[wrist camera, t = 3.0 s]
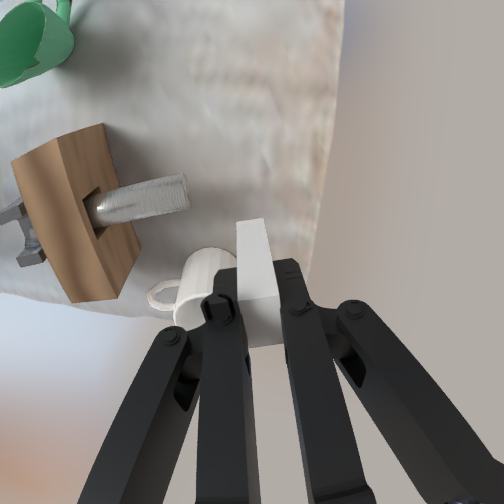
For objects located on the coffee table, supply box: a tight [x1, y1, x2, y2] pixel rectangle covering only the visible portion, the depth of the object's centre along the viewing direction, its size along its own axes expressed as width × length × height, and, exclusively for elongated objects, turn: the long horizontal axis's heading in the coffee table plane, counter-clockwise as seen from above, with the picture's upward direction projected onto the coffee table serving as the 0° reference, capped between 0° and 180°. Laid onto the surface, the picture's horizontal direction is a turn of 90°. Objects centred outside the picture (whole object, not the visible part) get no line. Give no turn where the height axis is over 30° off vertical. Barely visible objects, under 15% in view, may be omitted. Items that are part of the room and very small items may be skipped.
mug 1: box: [0, 0, 75, 88], centre depth 15 cm, size 15×10×10 cm
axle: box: [29, 173, 191, 243], centre depth 26 cm, size 20×4×4 cm, turn 98°
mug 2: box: [146, 247, 237, 331], centre depth 35 cm, size 8×12×10 cm
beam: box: [11, 123, 141, 303], centre depth 28 cm, size 7×18×10 cm, turn 8°
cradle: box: [0, 197, 47, 267], centre depth 29 cm, size 5×8×8 cm, turn 8°
